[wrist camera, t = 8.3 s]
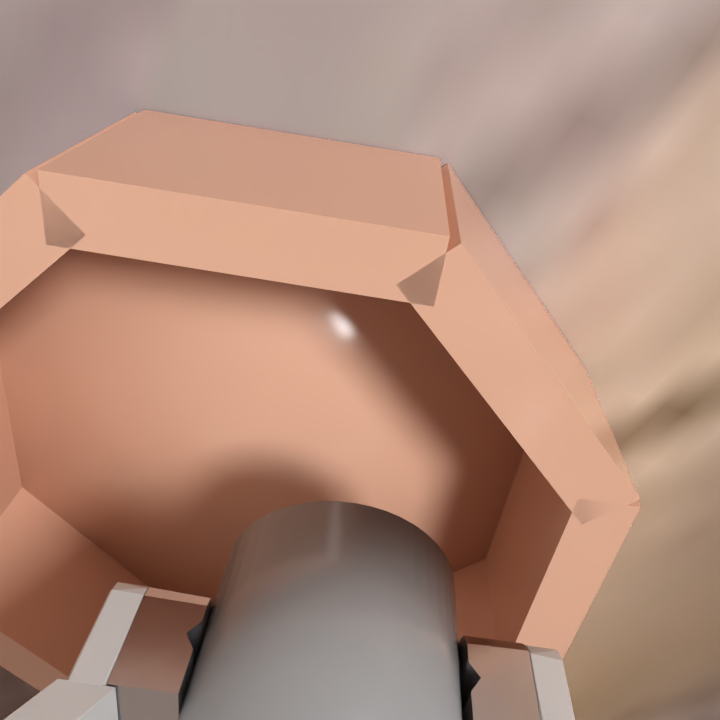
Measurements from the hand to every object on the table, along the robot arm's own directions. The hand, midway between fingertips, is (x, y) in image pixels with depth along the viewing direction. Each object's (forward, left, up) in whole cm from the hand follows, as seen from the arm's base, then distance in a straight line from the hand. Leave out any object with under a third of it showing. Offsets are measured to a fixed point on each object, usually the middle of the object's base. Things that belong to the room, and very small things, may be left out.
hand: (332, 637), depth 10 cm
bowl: (+2, 0, -5) cm, 5 cm away
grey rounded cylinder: (0, 0, -1) cm, 1 cm away
